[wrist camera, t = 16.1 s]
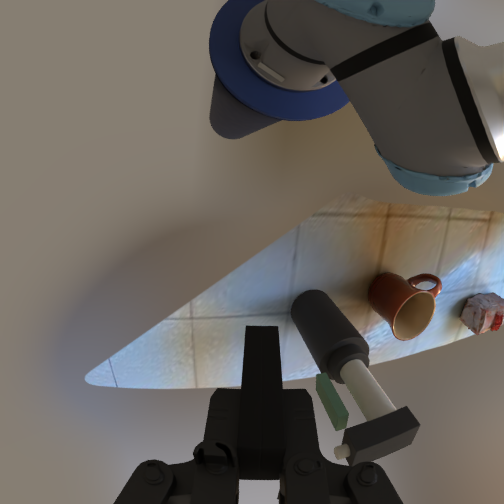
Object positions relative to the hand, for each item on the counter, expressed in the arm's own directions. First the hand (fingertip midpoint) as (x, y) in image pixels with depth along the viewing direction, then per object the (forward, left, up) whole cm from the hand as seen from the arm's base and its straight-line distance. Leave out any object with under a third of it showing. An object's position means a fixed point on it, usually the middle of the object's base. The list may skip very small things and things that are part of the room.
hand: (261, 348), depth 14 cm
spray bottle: (+11, +16, -29) cm, 35 cm away
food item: (+5, +63, -29) cm, 70 cm away
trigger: (+12, +14, -13) cm, 22 cm away
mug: (+4, +31, -29) cm, 43 cm away
